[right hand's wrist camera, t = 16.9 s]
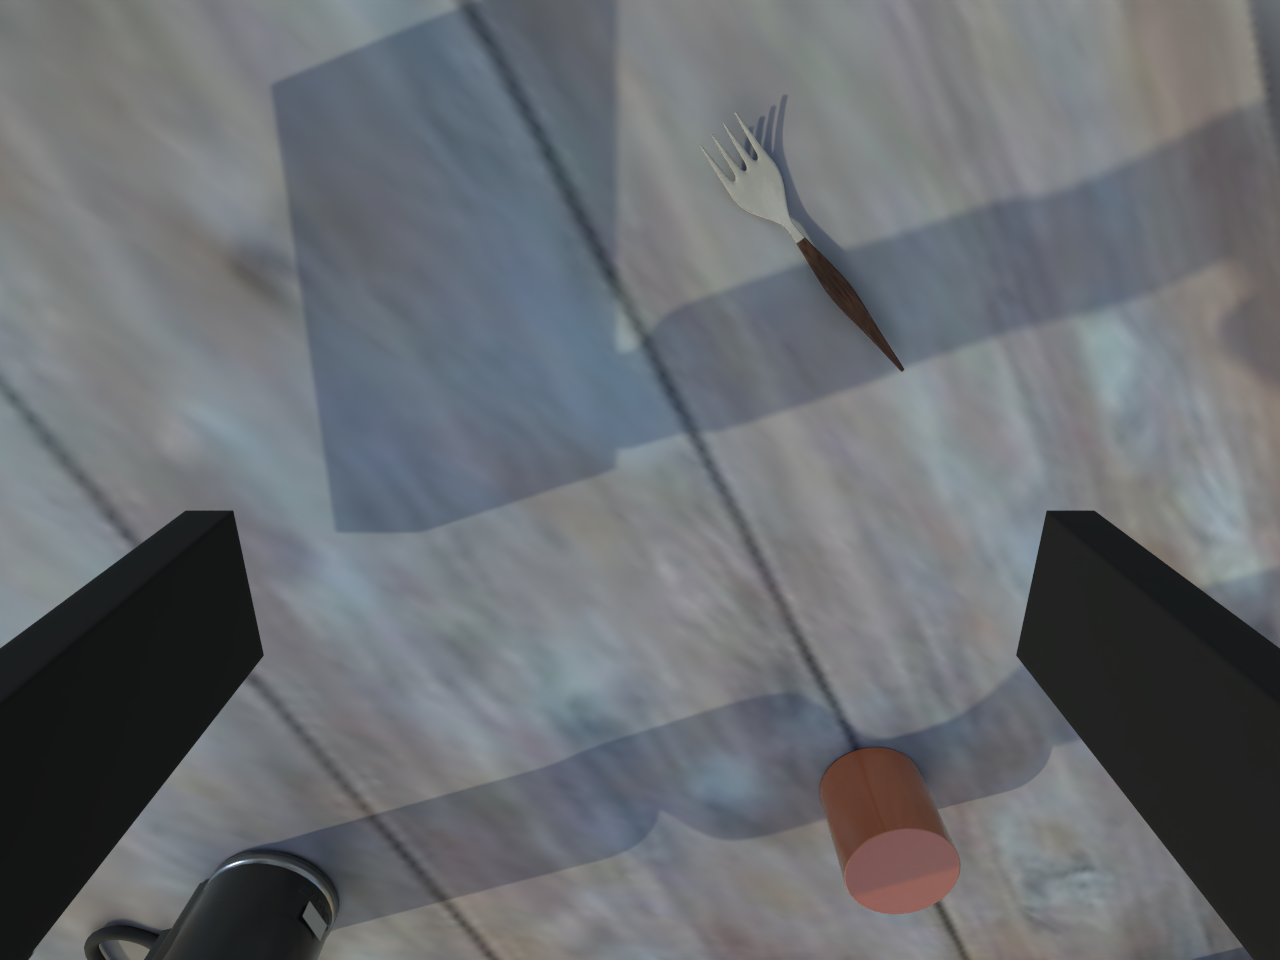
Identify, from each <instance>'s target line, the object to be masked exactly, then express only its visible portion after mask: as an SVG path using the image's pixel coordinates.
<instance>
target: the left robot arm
mask: <svg viewBox="0 0 1280 960" xmlns="http://www.w3.org/2000/svg"><path fill="white" fill-rule="evenodd" d="M338 907H339V905H338V897H337V894H336V891H335V889H334V887H333V886H332V884H331V882H330V881H329V880H328V879H327V877H326V876H325V875H324V874H323V873H322V872H321V871H319V870H318V869H317V868H316V867H314V866H313V865H311V864H309V863H308V862H306V861H304V860H302V859H300V858H297V857H294V856H292V855H288V854H285V853H280V852H274V851H252V852H246V853H242V854H239V855H236V856H233V857H231V858H229V859H227V860H226V861H224V862H223V863H222V864H221V865H219V866H218V868H217V869H216V870H215V871H214V873H213V874H212V876H211V878H210V879H209V881H206V882H203V883H200V884H199V885H198V887H197V889H196V890H195V892H194V893H193V895H192V897H191V898H190V900H189V901H188V903H187V905H186V906H185V908H184V910H183V911H182V913H181V914H180V916H179V918H178V919H177V921H176V922H175V924H174V926H173V927H172V928H171V929H167V930H163V931H162V932H161V934H160V935H159V937H158V936H157V935H155V934H153V933H150V932H147V931H144V930H141V929H138V928H134V927H129V926H109V927H105V928H102V929H99V930H98V931H96V932H94V933H92V934H91V935H90V936H89V937H88V939H87V940H86V943H85V946H84V950H85V955H86V958H87V960H106V959H105V957H104V956H103V954H102V953H101V951H100V949H99V943H100V942H102V941H106V940H125V941H130V942H134V943H137V944H140V945H142V946H145V947H146V948H148V949H150V951H149V953H148V954H147V956H146V958H145V959H144V960H318V957H319V955H320V952H321V950H322V947H323V945H324V942H325V940H326V938H327V936H328V935H329V933H330V931H331V929H332V927H333V924H334V922H335V919H336V917H337V913H338ZM33 954H34V952H32V953H31V954H30V956H29V957H28V958H27V959H26V960H29V959H30V957H31V956H32V955H33Z"/></svg>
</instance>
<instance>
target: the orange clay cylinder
mask: <svg viewBox="0 0 1280 960" xmlns="http://www.w3.org/2000/svg"><path fill="white" fill-rule="evenodd" d="M820 798H821V802H822V806H823V809H824V813H825V816H826V820H827V823H828V827H829V830H830V834H831V837H832V840H833V844H834V847H835V851H836V854H837V858H838V861H839V865H840V868H841V872H842V875H843V879H844V882H845V885H846V888H847V890H848V892H849V893H850V895H851V896H852V897H853V898H854V899H855V900H856V901H857V902H858V903H859V904H861V905H862V906H864V907H866V908H868V909H870V910H873V911H876V912H881V913H887V914H904V913H910V912H915V911H918V910H921V909H924V908H927V907H929V906H931V905H933V904H935V903H936V902H938V901H939V900H941V899H942V898H943V897H945V896H946V895H947V894H948V893H949V892H950V890H951V889H952V888H953V886H954V885H955V883H956V881H957V879H958V876H959V872H960V858H959V855H958V853H957V850H956V848H955V846H954V844H953V842H952V840H951V838H950V835H949V833H948V831H947V829H946V827H945V825H944V823H943V820H942V818H941V816H940V814H939V812H938V810H937V808H936V805H935V803H934V801H933V799H932V797H931V795H930V793H929V790H928V788H927V786H926V784H925V782H924V780H923V778H922V775H921V773H920V771H919V769H918V767H917V766H916V765H915V763H914V762H913V761H912V760H911V759H910V758H908V757H907V756H906V755H904V754H902V753H900V752H898V751H895V750H892V749H888V748H881V747H871V748H864V749H859V750H856V751H853V752H850V753H848V754H846V755H844V756H842V757H841V758H839V759H838V760H837V761H835V762H834V763H833V764H832V765H831V766H830V767H829V768H828V770H827V771H826V773H825V774H824V776H823V778H822V781H821V785H820Z"/></svg>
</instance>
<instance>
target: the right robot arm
mask: <svg viewBox="0 0 1280 960" xmlns="http://www.w3.org/2000/svg"><path fill="white" fill-rule="evenodd" d="M263 656H264V655H263V650H262V645H261V640H260V636H259V631H258V626H257V621H256V617H255V612H254V607H253V602H252V598H251V593H250V588H249V583H248V579H247V574H246V569H245V564H244V560H243V555H242V550H241V545H240V541H239V536H238V531H237V526H236V522H235V517H234V512H233V511H185V512H183V513H182V514H181V515H179V516H178V517H177V518H175V519H174V520H173V521H171V522H170V523H169V524H167V525H166V526H164V527H163V528H162V529H160V530H159V531H158V532H156V533H155V534H154V535H152V536H151V537H150V538H148V539H147V540H146V541H144V542H143V543H142V544H140V545H139V546H138V547H136V548H135V549H134V550H132V551H131V552H129V553H128V554H127V555H125V556H124V557H123V558H121V559H120V560H119V561H117V562H116V563H115V564H113V565H112V566H111V567H109V568H108V569H107V570H105V571H104V572H103V573H101V574H100V575H99V576H97V577H96V578H95V579H93V580H92V581H90V582H89V583H88V584H86V585H85V586H84V587H82V588H81V589H80V590H78V591H77V592H76V593H74V594H73V595H72V596H70V597H69V598H68V599H66V600H65V601H64V602H62V603H61V604H60V605H58V606H57V607H55V608H54V609H53V610H51V611H50V612H49V613H47V614H46V615H45V616H43V617H42V618H41V619H39V620H38V621H37V622H35V623H34V624H33V625H31V626H30V627H29V628H27V629H26V630H25V631H23V632H22V633H20V634H19V635H18V636H16V637H15V638H14V639H12V640H11V641H10V642H8V643H7V644H6V645H4V646H3V647H2V648H0V960H26V959H27V958H28V957H29V956H30V954H31V953H32V952H33V950H34V949H35V948H36V947H37V945H38V944H39V943H40V941H41V940H42V939H43V938H44V936H45V935H46V934H47V932H48V931H49V930H50V929H51V927H52V926H53V925H54V924H55V922H56V921H57V920H58V918H59V917H60V916H61V915H62V913H63V912H64V911H65V909H66V908H67V907H68V906H69V904H70V903H71V902H72V900H73V899H74V898H75V897H76V895H77V894H78V893H79V891H80V890H81V889H82V888H83V886H84V885H85V884H86V883H87V881H88V880H89V879H90V877H91V876H92V875H93V874H94V872H95V871H96V870H97V868H98V867H99V866H100V865H101V863H102V862H103V861H104V859H105V858H106V857H107V856H108V854H109V853H110V852H111V850H112V849H113V848H114V847H115V845H116V844H117V843H118V841H119V840H120V839H121V838H122V836H123V835H124V834H125V833H126V831H127V830H128V829H129V827H130V826H131V825H132V824H133V822H134V821H135V820H136V818H137V817H138V816H139V815H140V813H141V812H142V811H143V809H144V808H145V807H146V806H147V804H148V803H149V802H150V800H151V799H152V798H153V797H154V795H155V794H156V793H157V792H158V790H159V789H160V788H161V786H162V785H163V784H164V783H165V781H166V780H167V779H168V777H169V776H170V775H171V774H172V772H173V771H174V770H175V768H176V767H177V766H178V765H179V763H180V762H181V761H182V759H183V758H184V757H185V756H186V754H187V753H188V752H189V750H190V749H191V748H192V747H193V745H194V744H195V743H196V742H197V740H198V739H199V738H200V736H201V735H202V734H203V733H204V731H205V730H206V729H207V727H208V726H209V725H210V724H211V722H212V721H213V720H214V718H215V717H216V716H217V715H218V713H219V712H220V711H221V709H222V708H223V707H224V706H225V704H226V703H227V702H228V701H229V699H230V698H231V697H232V695H233V694H234V693H235V692H236V690H237V689H238V688H239V686H240V685H241V684H242V683H243V681H244V680H245V679H246V677H247V676H248V675H249V674H250V672H251V671H252V670H253V668H254V667H255V666H256V665H257V663H258V662H259V661H260V659H261V658H262V657H263ZM1016 656H1017V657H1018V658H1019V659H1020V661H1021V662H1022V663H1023V665H1024V666H1025V667H1026V668H1027V670H1028V671H1029V672H1030V674H1031V675H1032V676H1033V677H1034V679H1035V680H1036V681H1037V683H1038V684H1039V685H1040V686H1041V688H1042V689H1043V690H1044V692H1045V693H1046V694H1047V695H1048V697H1049V698H1050V699H1051V701H1052V702H1053V703H1054V704H1055V706H1056V707H1057V708H1058V709H1059V711H1060V712H1061V713H1062V715H1063V716H1064V717H1065V718H1066V720H1067V721H1068V722H1069V724H1070V725H1071V726H1072V727H1073V729H1074V730H1075V731H1076V733H1077V734H1078V735H1079V736H1080V738H1081V739H1082V740H1083V742H1084V743H1085V744H1086V745H1087V747H1088V748H1089V749H1090V750H1091V752H1092V753H1093V754H1094V756H1095V757H1096V758H1097V759H1098V761H1099V762H1100V763H1101V765H1102V766H1103V767H1104V768H1105V770H1106V771H1107V772H1108V774H1109V775H1110V776H1111V777H1112V779H1113V780H1114V781H1115V783H1116V784H1117V785H1118V786H1119V788H1120V789H1121V790H1122V792H1123V793H1124V794H1125V795H1126V797H1127V798H1128V799H1129V800H1130V802H1131V803H1132V804H1133V806H1134V807H1135V808H1136V809H1137V811H1138V812H1139V813H1140V815H1141V816H1142V817H1143V818H1144V820H1145V821H1146V822H1147V824H1148V825H1149V826H1150V827H1151V829H1152V830H1153V831H1154V833H1155V834H1156V835H1157V836H1158V838H1159V839H1160V840H1161V841H1162V843H1163V844H1164V845H1165V847H1166V848H1167V849H1168V850H1169V852H1170V853H1171V854H1172V856H1173V857H1174V858H1175V859H1176V861H1177V862H1178V863H1179V865H1180V866H1181V867H1182V868H1183V870H1184V871H1185V872H1186V874H1187V875H1188V876H1189V877H1190V879H1191V880H1192V881H1193V883H1194V884H1195V885H1196V886H1197V888H1198V889H1199V890H1200V891H1201V893H1202V894H1203V895H1204V897H1205V898H1206V899H1207V900H1208V902H1209V903H1210V904H1211V906H1212V907H1213V908H1214V909H1215V911H1216V912H1217V913H1218V915H1219V916H1220V917H1221V918H1222V920H1223V921H1224V922H1225V924H1226V925H1227V926H1228V927H1229V929H1230V930H1231V931H1232V932H1233V934H1234V935H1235V936H1236V938H1237V939H1238V940H1239V941H1240V943H1241V944H1242V945H1243V947H1244V948H1245V949H1246V950H1247V952H1248V953H1249V954H1250V956H1251V957H1252V958H1253V959H1254V960H1280V648H1278V647H1277V646H1276V645H1274V644H1273V643H1272V642H1270V641H1269V640H1268V639H1266V638H1265V637H1264V636H1262V635H1261V634H1259V633H1258V632H1257V631H1255V630H1254V629H1253V628H1251V627H1250V626H1249V625H1247V624H1246V623H1245V622H1243V621H1242V620H1241V619H1239V618H1238V617H1237V616H1235V615H1234V614H1233V613H1231V612H1230V611H1229V610H1227V609H1226V608H1225V607H1223V606H1222V605H1220V604H1219V603H1218V602H1216V601H1215V600H1214V599H1212V598H1211V597H1210V596H1208V595H1207V594H1206V593H1204V592H1203V591H1202V590H1200V589H1199V588H1198V587H1196V586H1195V585H1194V584H1192V583H1191V582H1190V581H1188V580H1187V579H1185V578H1184V577H1183V576H1181V575H1180V574H1179V573H1177V572H1176V571H1175V570H1173V569H1172V568H1171V567H1169V566H1168V565H1167V564H1165V563H1164V562H1163V561H1161V560H1160V559H1159V558H1157V557H1156V556H1155V555H1153V554H1152V553H1151V552H1149V551H1148V550H1146V549H1145V548H1144V547H1142V546H1141V545H1140V544H1138V543H1137V542H1136V541H1134V540H1133V539H1132V538H1130V537H1129V536H1128V535H1126V534H1125V533H1124V532H1122V531H1121V530H1120V529H1118V528H1117V527H1116V526H1114V525H1113V524H1111V523H1110V522H1109V521H1107V520H1106V519H1105V518H1103V517H1102V516H1101V515H1099V514H1098V513H1097V512H1095V511H1047V512H1046V517H1045V522H1044V526H1043V531H1042V536H1041V541H1040V545H1039V550H1038V555H1037V560H1036V564H1035V569H1034V574H1033V579H1032V583H1031V588H1030V593H1029V598H1028V602H1027V607H1026V612H1025V617H1024V621H1023V626H1022V631H1021V636H1020V640H1019V645H1018V650H1017V655H1016Z"/></svg>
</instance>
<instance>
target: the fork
mask: <svg viewBox="0 0 1280 960" xmlns="http://www.w3.org/2000/svg"><path fill="white" fill-rule="evenodd" d="M734 114H735V115H736V117H737V119H738V120H739V122H740V124H741V126H742V128H743V130H744V131H745V133H746V135H747V137H748V139H749V140H750V142H751V144H752V146H753V147H754V149H755V151H756V153H757V155H758V160H757V161H755V160H753V159H752V158H751V157H750V156H749V154H748V153H747V152H746V151H745V149H744V148H743V147H742V145H741V144H740V143H739V142H738V140H737V139H736V138H735V136H734V135H733V134H732V133H731V131H730V130H729V129H728V128H727V126H726V125H725V124H724V123H723V125H724V127H725V129H726V131H727V132H728V134H729V136H730V138H731V140H732V141H733V143H734V145H735V147H736V148H737V150H738V152H739V153H740V155H741V157H742V158H743V160H744V162H745V164H746V167H747V169H746V171H743V170H742V169H741V168H740V167H739V166H738V165H737V164H736V163H735V161H734V160H733V159H732V158H731V156H730V155H729V154H728V153H727V151H726V150H725V149H724V148H723V146H722V145H721V144H720V143H719V142H718V140H717V139H716V138H715V137H714V135H713V134H711V135H712V137H713V139H714V141H715V142H716V144H717V146H718V147H719V149H720V151H721V153H722V154H723V156H724V158H725V159H726V161H727V163H728V164H729V166H730V167H731V169H732V171H733V173H734V175H735V178H736V179H735V181H731V180H730V179H729V178H728V177H727V176H726V174H725V173H724V172H723V171H722V170H721V168H720V167H719V166H718V165H717V164H716V162H715V161H714V160H713V159H712V158H711V156H710V155H709V154H708V153H707V152H706V150H705V149H704V148H703V146H702V145H700V148H701V149H702V151H703V152H704V154H705V155H706V157H707V159H708V160H709V162H710V164H711V165H712V167H713V168H714V170H715V172H716V173H717V175H718V176H719V178H720V179H721V181H722V183H723V184H724V186H725V187H726V189H727V190H728V192H729V194H730V195H731V197H732V198H733V200H734V201H735V202H736V203H737V204H738V205H739V206H740V207H741V208H742V209H744V210H745V211H747V212H749V213H751V214H754V215H756V216H759V217H762V218H765V219H768V220H771V221H774V222H776V223H779V224H780V225H782V226H783V227H785V228H786V229H787V230H788V231H789V233H790V234H791V236H792V237H793V239H794V240H795V242H796V243H797V245H798V247H799V248H800V250H801V251H802V253H803V255H804V256H805V258H806V260H807V261H808V263H809V265H810V266H811V268H812V270H813V271H814V273H815V275H816V276H817V278H818V279H819V281H820V283H821V284H822V286H823V287H824V289H825V290H826V292H827V293H828V294H829V296H830V297H831V298H832V299H833V301H834V302H835V303H836V304H837V305H838V306H839V307H840V308H841V309H842V311H843V312H844V313H845V314H846V315H847V316H848V317H849V318H850V319H851V320H852V321H853V322H854V323H855V324H856V325H857V326H858V327H859V328H861V329H862V331H863V332H864V333H865V334H866V335H867V336H868V337H869V338H870V339H871V340H872V341H873V342H874V343H875V344H876V345H877V346H878V347H879V348H880V349H881V350H882V351H883V352H884V354H885V355H886V356H887V357H888V358H889V359H890V360H891V361H892V362H893V363H894V364H895V365H896V366H897V367H898V369H899V370H900V371H903V370H904V368H903V366H902V365H901V363H900V362H899V360H898V359H897V357H896V356H895V354H894V352H893V351H892V349H891V348H890V346H889V345H888V343H887V342H886V340H885V339H884V337H883V335H882V334H881V332H880V331H879V329H878V327H877V326H876V324H875V323H874V321H873V319H872V318H871V316H870V314H869V313H868V311H867V309H866V308H865V306H864V305H863V303H862V301H861V300H860V298H859V297H858V295H857V294H856V292H855V291H854V289H853V288H852V287H851V285H850V284H849V283H848V282H847V280H846V279H845V278H844V277H843V276H842V275H841V274H840V273H839V272H838V271H837V269H836V268H835V267H834V266H833V265H832V264H831V263H830V262H829V261H828V260H827V259H826V258H825V257H824V256H823V255H822V254H821V253H820V252H819V251H818V250H817V249H816V248H815V247H814V246H813V245H812V244H811V243H810V242H809V241H808V240H807V239H806V238H805V237H804V236H803V235H802V234H801V233H800V232H799V231H798V229H797V228H796V227H795V226H794V224H793V223H792V221H791V219H790V216H789V213H788V208H787V202H786V194H785V188H784V183H783V180H782V176H781V174H780V171H779V169H778V167H777V166H776V164H775V163H774V161H773V160H772V159H771V158H770V156H769V155H768V154H767V153H766V152H765V150H764V149H763V148H762V146H761V145H760V144H759V142H758V141H757V140H756V138H755V137H754V136H753V134H752V133H751V131H750V130H749V129H748V128H747V126H746V125H745V124H744V122H743V121H742V120H741V118H740V117H739V115H738V114H737V112H735V113H734Z"/></svg>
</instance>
